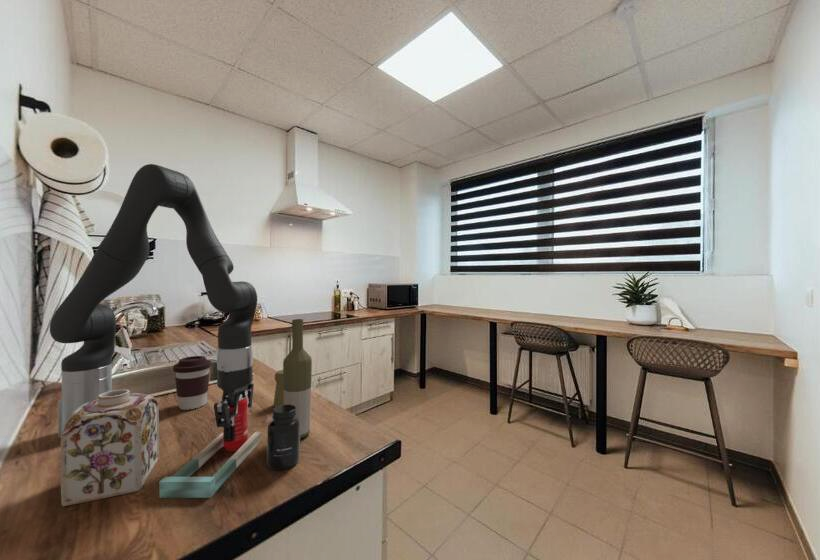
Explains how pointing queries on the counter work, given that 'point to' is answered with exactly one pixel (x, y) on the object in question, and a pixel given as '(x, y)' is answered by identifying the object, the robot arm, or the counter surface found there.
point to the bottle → (298, 378)
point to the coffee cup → (192, 381)
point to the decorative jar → (109, 446)
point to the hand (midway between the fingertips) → (235, 434)
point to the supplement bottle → (283, 438)
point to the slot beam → (204, 486)
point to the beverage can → (239, 427)
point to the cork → (279, 389)
